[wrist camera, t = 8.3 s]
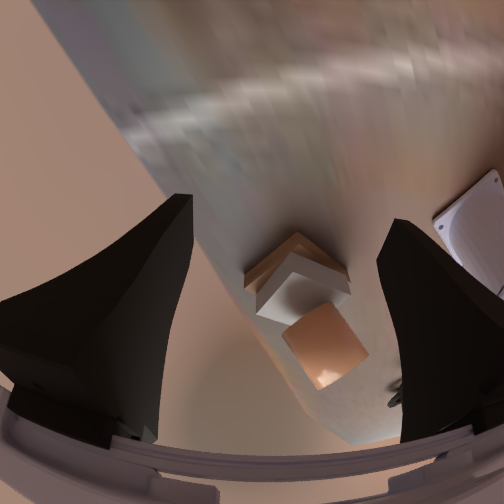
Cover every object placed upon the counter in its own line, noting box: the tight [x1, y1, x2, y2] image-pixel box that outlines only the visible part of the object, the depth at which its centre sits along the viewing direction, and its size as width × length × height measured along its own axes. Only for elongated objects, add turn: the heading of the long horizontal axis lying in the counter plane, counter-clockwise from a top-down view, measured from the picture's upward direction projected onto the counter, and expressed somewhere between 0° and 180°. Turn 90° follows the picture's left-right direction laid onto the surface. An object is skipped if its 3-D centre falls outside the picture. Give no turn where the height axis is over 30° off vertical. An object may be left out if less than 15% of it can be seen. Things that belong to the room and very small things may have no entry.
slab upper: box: [256, 252, 351, 325], centre depth 24 cm, size 6×6×2 cm
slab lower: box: [244, 231, 351, 296], centre depth 26 cm, size 6×6×2 cm
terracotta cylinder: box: [282, 301, 369, 390], centre depth 21 cm, size 5×5×5 cm
